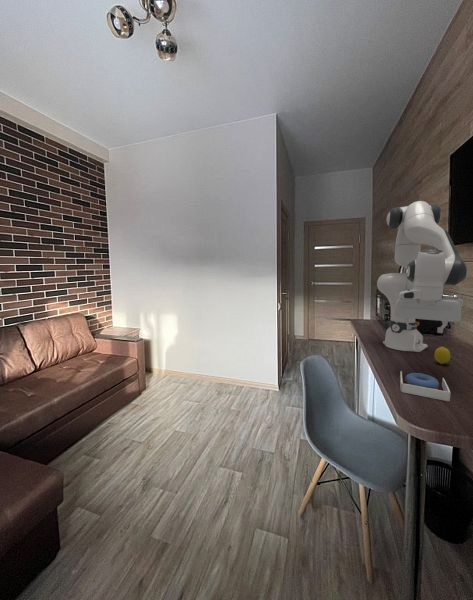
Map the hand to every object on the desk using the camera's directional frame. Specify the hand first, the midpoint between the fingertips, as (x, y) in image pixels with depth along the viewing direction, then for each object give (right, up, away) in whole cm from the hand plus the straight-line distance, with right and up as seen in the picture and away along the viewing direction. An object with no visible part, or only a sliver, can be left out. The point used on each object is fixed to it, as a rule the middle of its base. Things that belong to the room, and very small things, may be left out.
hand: (424, 331), depth 100 cm
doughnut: (-4, -20, -5) cm, 21 cm away
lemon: (+20, -17, +17) cm, 31 cm away
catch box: (-5, -19, -7) cm, 21 cm away
